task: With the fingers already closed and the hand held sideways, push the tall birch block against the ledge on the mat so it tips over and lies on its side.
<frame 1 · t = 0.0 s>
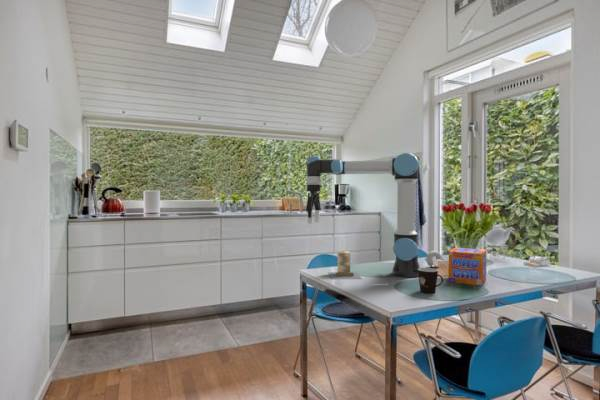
hand: (313, 222, 201), 28 cm above the table, tool pointing down, fingers open, 13 cm apart
donut: (434, 267, 218), on the table
mat: (344, 276, 193), on the table
coffee mug: (429, 293, 162), on the table
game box: (467, 281, 185), on the table
birch block: (343, 274, 196), point 1 cm above the table, touching mat
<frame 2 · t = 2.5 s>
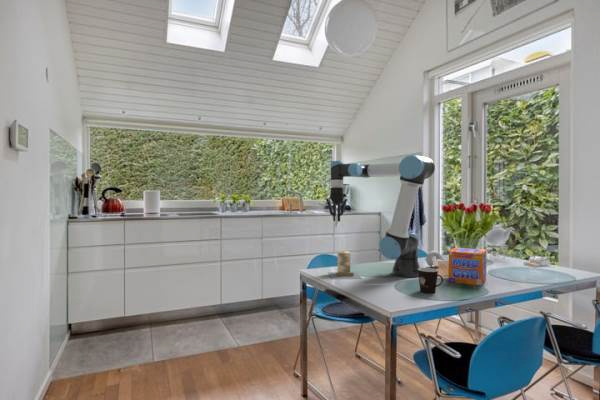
hand: (336, 226, 215), 24 cm above the table, tool pointing down, fingers closed
nothing on the table moved.
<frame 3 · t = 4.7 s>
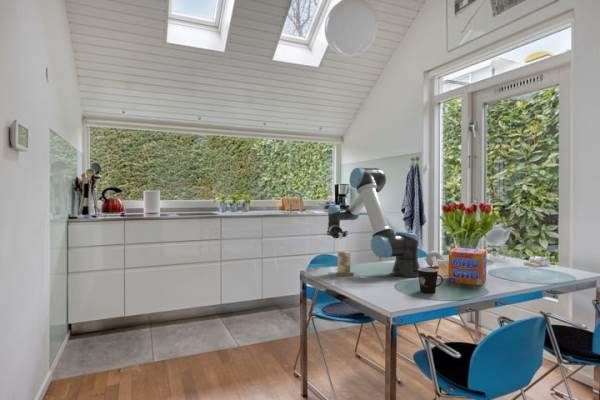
hand: (341, 236, 206), 20 cm above the table, tool horizontal, fingers closed
nothing on the table moved.
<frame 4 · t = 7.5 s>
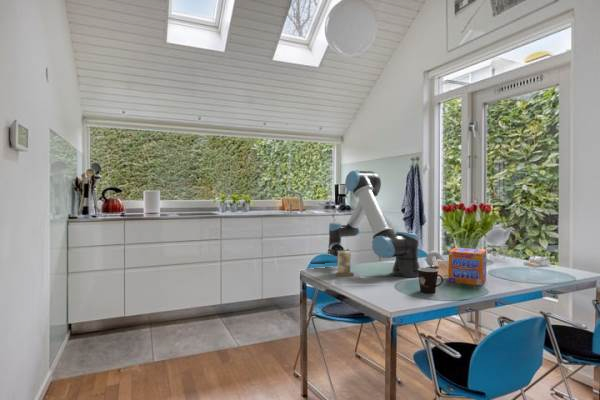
hand: (342, 256, 198), 10 cm above the table, tool horizontal, fingers closed
birch block: (343, 273, 196), point 1 cm above the table, touching gripper, mat
everything else where it was.
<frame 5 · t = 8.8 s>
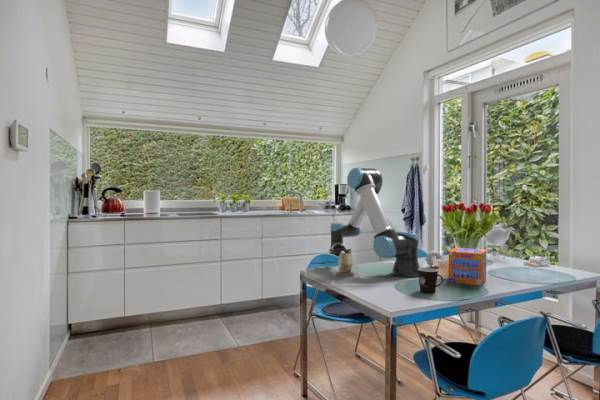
hand: (343, 255, 193), 12 cm above the table, tool horizontal, fingers closed
birch block: (344, 269, 196), point 3 cm above the table, tilted 50°, touching gripper, mat
everything else where it was.
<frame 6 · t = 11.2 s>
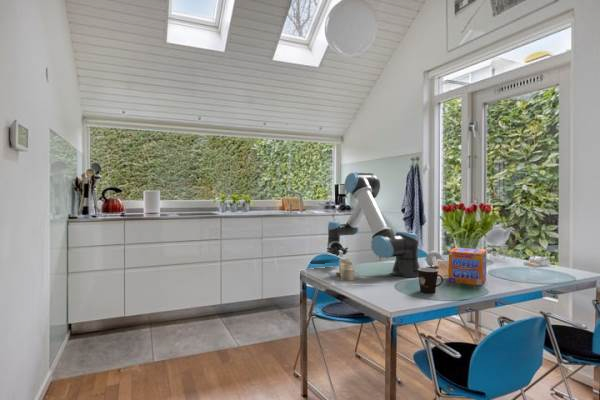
hand: (341, 254, 202), 10 cm above the table, tool horizontal, fingers closed
birch block: (344, 264, 194), point 6 cm above the table, tilted 105°, touching mat
everything else where it was.
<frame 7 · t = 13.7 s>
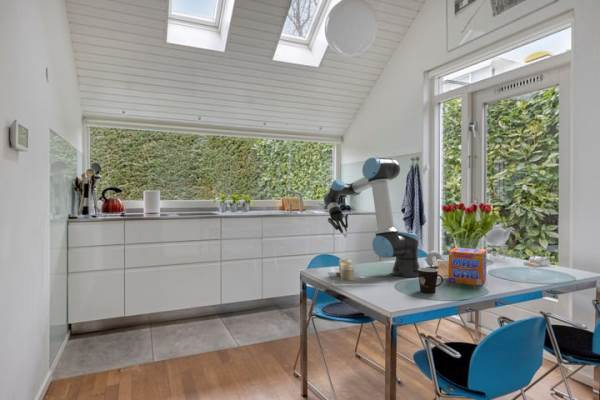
hand: (345, 235, 209), 20 cm above the table, tool tilted 55°, fingers closed
nothing on the table moved.
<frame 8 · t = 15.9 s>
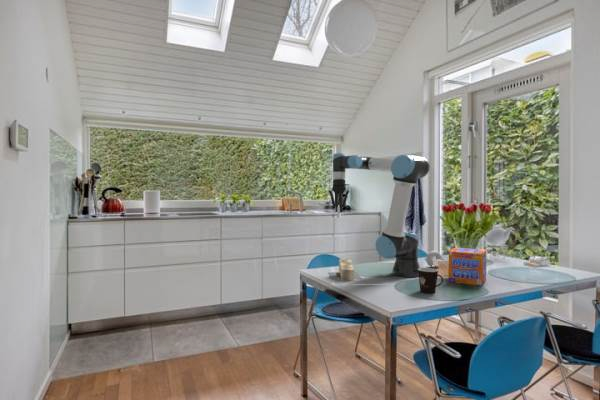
hand: (338, 217, 220), 29 cm above the table, tool pointing down, fingers closed
nothing on the table moved.
at the end: birch block tilted 105°; birch block inside the target area (3.5 cm from its centre), point 6.3 cm above the table; the gripper is holding nothing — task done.
